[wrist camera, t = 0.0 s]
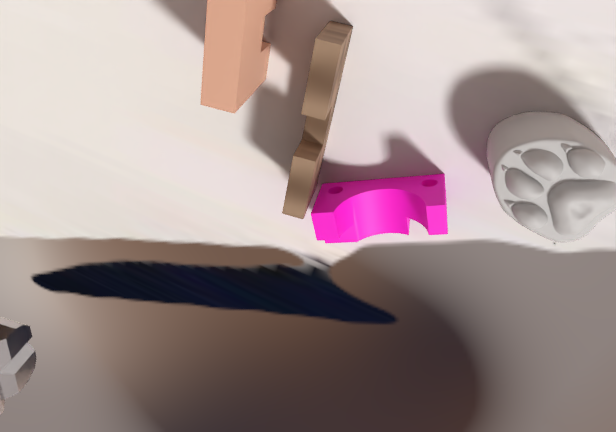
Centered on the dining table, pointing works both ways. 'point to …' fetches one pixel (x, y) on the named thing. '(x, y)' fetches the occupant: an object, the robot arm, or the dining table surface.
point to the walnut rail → (317, 115)
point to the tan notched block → (234, 52)
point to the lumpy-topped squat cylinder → (551, 174)
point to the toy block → (379, 207)
